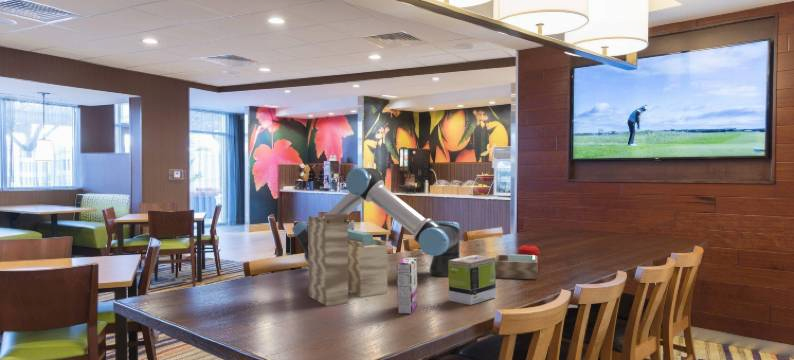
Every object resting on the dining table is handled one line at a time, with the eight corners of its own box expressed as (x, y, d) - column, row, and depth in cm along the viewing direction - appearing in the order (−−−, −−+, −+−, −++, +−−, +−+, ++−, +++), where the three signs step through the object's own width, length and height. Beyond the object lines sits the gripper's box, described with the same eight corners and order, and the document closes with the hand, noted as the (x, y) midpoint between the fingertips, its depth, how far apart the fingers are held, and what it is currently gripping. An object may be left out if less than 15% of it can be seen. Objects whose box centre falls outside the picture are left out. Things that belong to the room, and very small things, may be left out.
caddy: (537, 271, 242) (537, 255, 241) (537, 279, 224) (537, 262, 224) (496, 269, 246) (496, 254, 246) (493, 277, 229) (493, 261, 229)
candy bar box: (403, 305, 183) (403, 257, 183) (417, 305, 182) (417, 257, 182) (396, 313, 172) (396, 262, 172) (412, 314, 171) (411, 263, 171)
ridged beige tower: (387, 293, 200) (386, 241, 200) (360, 297, 195) (360, 243, 194) (361, 283, 219) (360, 235, 219) (336, 286, 214) (335, 237, 213)
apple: (518, 268, 249) (518, 245, 249) (517, 264, 259) (517, 242, 259) (540, 268, 248) (540, 245, 247) (538, 265, 257) (538, 242, 257)
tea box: (474, 293, 199) (473, 254, 199) (496, 298, 192) (496, 257, 192) (447, 300, 189) (447, 258, 188) (470, 305, 181) (470, 262, 181)
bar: (372, 244, 202) (372, 233, 202) (363, 245, 200) (363, 234, 200) (343, 237, 226) (343, 227, 226) (334, 237, 224) (334, 228, 224)
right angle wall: (507, 270, 244) (507, 254, 244) (535, 272, 241) (535, 255, 241) (506, 275, 232) (506, 258, 232) (534, 277, 229) (534, 259, 229)
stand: (348, 302, 186) (347, 213, 186) (326, 306, 182) (325, 214, 182) (329, 293, 201) (328, 210, 200) (308, 296, 197) (308, 211, 196)
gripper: (349, 249, 245) (367, 230, 229) (297, 254, 233) (312, 233, 216) (345, 234, 248) (363, 214, 232) (293, 238, 236) (308, 217, 220)
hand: (338, 223), depth 224 cm, fingers open, 13 cm apart
